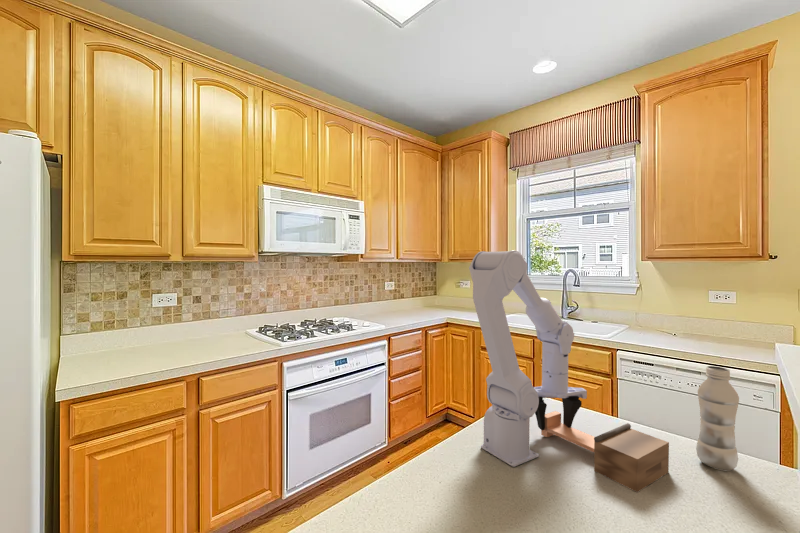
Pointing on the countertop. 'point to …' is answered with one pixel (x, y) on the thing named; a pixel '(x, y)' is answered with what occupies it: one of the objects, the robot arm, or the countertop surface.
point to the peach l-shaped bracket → (566, 431)
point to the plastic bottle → (717, 420)
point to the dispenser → (630, 457)
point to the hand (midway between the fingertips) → (554, 428)
